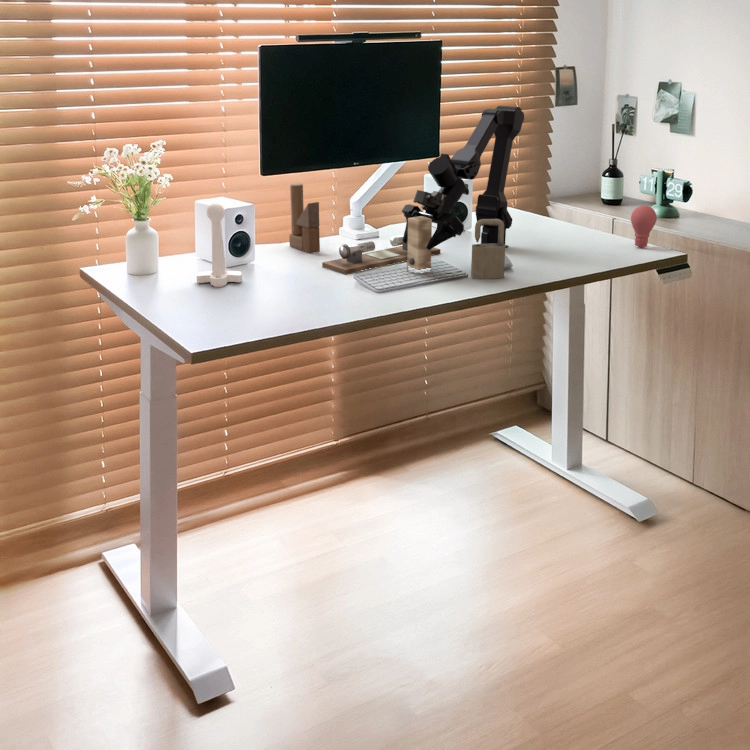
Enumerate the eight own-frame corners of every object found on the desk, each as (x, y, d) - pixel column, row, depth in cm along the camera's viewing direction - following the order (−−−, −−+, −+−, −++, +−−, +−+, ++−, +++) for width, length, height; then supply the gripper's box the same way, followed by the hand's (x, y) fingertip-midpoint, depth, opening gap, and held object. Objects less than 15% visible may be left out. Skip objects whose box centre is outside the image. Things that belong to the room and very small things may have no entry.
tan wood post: (421, 268, 260) (422, 215, 255) (432, 271, 256) (433, 218, 251) (406, 270, 257) (406, 218, 252) (416, 274, 253) (417, 221, 248)
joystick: (242, 278, 250) (238, 201, 243) (240, 287, 243) (236, 207, 236) (198, 279, 249) (193, 201, 242) (195, 288, 242) (189, 207, 235)
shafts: (415, 246, 277) (415, 228, 275) (424, 248, 274) (424, 230, 272) (338, 262, 260) (338, 243, 258) (347, 265, 257) (347, 246, 255)
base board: (416, 246, 281) (416, 241, 281) (440, 253, 274) (440, 248, 274) (322, 266, 261) (322, 261, 260) (345, 274, 254) (345, 268, 253)
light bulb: (643, 243, 284) (648, 202, 280) (658, 249, 278) (663, 207, 274) (623, 245, 282) (626, 204, 278) (637, 251, 276) (641, 209, 272)
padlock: (470, 275, 253) (472, 217, 248) (501, 274, 254) (504, 217, 248) (473, 279, 249) (475, 221, 244) (504, 278, 250) (507, 220, 244)
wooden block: (309, 253, 274) (307, 189, 268) (289, 246, 282) (287, 183, 276) (320, 251, 276) (319, 188, 270) (299, 244, 284) (298, 182, 278)
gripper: (407, 173, 257) (375, 220, 254) (457, 183, 244) (424, 233, 241) (428, 199, 264) (397, 245, 262) (478, 210, 251) (446, 259, 249)
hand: (415, 245), depth 253 cm, fingers open, 9 cm apart
